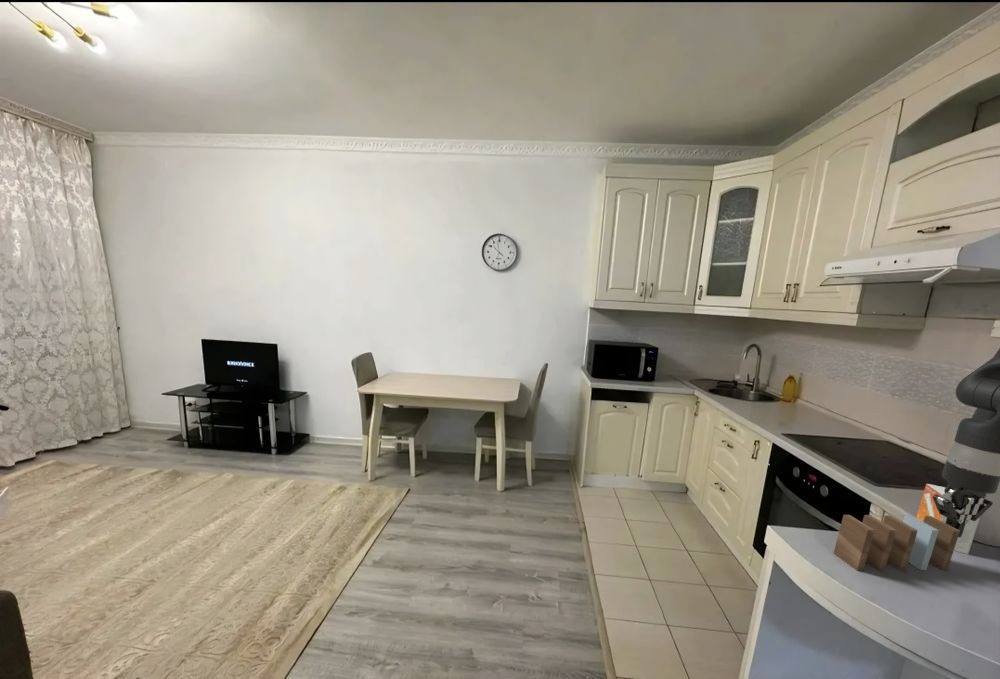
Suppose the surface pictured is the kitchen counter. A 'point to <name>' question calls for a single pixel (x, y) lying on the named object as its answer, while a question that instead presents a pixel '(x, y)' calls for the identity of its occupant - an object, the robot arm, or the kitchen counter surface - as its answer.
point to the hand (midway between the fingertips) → (951, 534)
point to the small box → (930, 509)
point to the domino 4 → (921, 542)
